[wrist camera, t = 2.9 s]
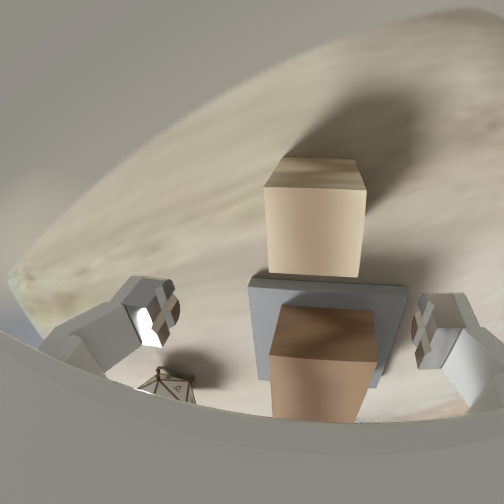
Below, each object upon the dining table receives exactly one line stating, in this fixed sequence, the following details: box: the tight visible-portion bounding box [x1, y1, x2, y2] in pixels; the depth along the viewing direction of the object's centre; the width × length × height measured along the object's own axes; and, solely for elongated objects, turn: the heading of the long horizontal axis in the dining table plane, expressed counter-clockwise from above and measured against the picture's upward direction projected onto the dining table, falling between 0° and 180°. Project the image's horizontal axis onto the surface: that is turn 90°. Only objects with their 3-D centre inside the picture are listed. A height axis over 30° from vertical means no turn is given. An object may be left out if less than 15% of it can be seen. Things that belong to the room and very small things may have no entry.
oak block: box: [264, 158, 367, 278], centre depth 16 cm, size 4×4×6 cm
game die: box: [137, 367, 196, 404], centre depth 31 cm, size 9×8×10 cm
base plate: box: [248, 277, 408, 388], centre depth 24 cm, size 12×12×1 cm
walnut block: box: [269, 305, 378, 423], centre depth 22 cm, size 7×9×5 cm
